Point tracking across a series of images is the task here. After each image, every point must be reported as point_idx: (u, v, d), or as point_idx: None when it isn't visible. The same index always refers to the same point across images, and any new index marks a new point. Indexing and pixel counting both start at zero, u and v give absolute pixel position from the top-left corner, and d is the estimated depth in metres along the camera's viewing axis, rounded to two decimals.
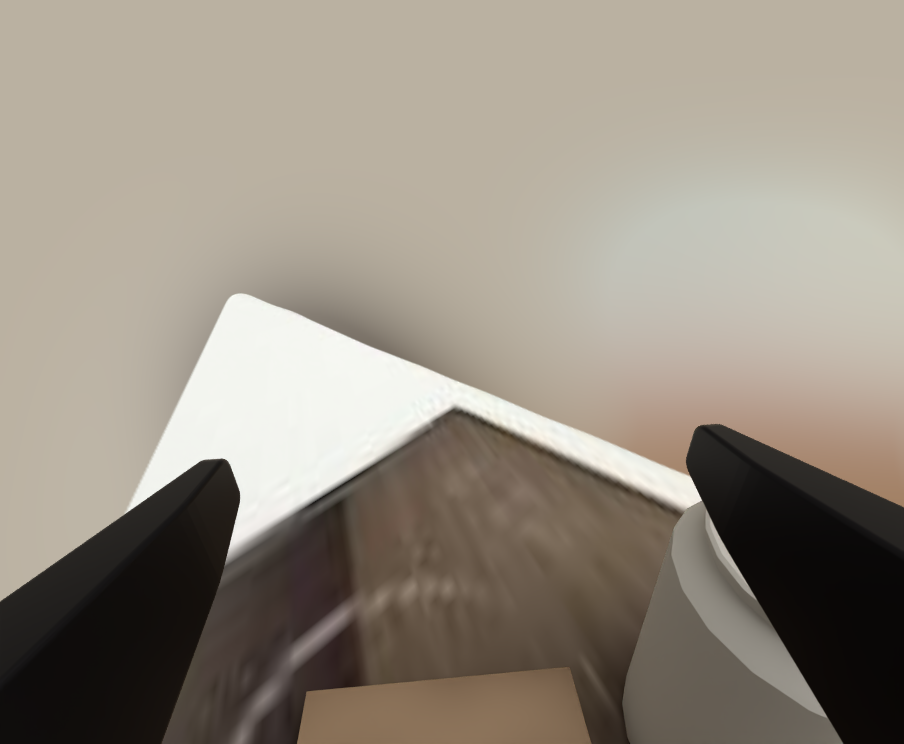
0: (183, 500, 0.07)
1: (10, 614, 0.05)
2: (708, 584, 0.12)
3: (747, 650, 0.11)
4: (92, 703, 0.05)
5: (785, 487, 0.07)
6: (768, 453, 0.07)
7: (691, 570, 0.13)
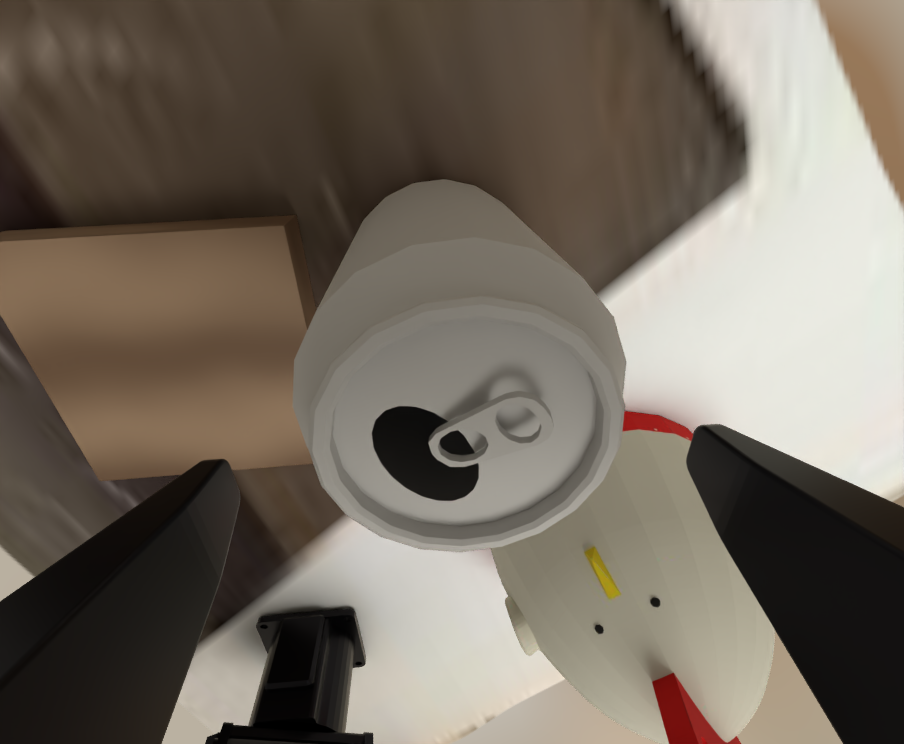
0: (183, 500, 0.07)
1: (10, 614, 0.05)
2: None
3: None
4: (92, 703, 0.05)
5: (785, 487, 0.07)
6: (769, 453, 0.07)
7: (303, 400, 0.09)
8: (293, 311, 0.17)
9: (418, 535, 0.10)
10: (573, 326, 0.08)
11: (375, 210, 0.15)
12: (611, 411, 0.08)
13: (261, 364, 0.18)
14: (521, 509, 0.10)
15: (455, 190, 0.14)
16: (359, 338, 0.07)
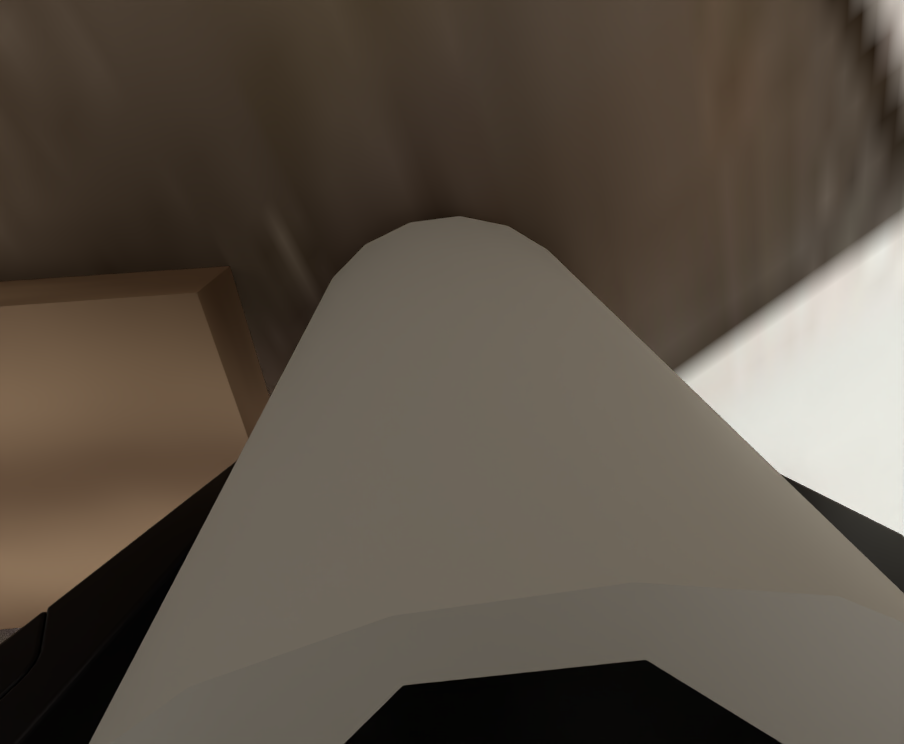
0: None
1: (74, 609, 0.05)
2: None
3: None
4: None
5: None
6: None
7: None
8: (225, 415, 0.11)
9: None
10: None
11: (347, 270, 0.09)
12: None
13: (185, 485, 0.12)
14: None
15: (483, 247, 0.08)
16: None
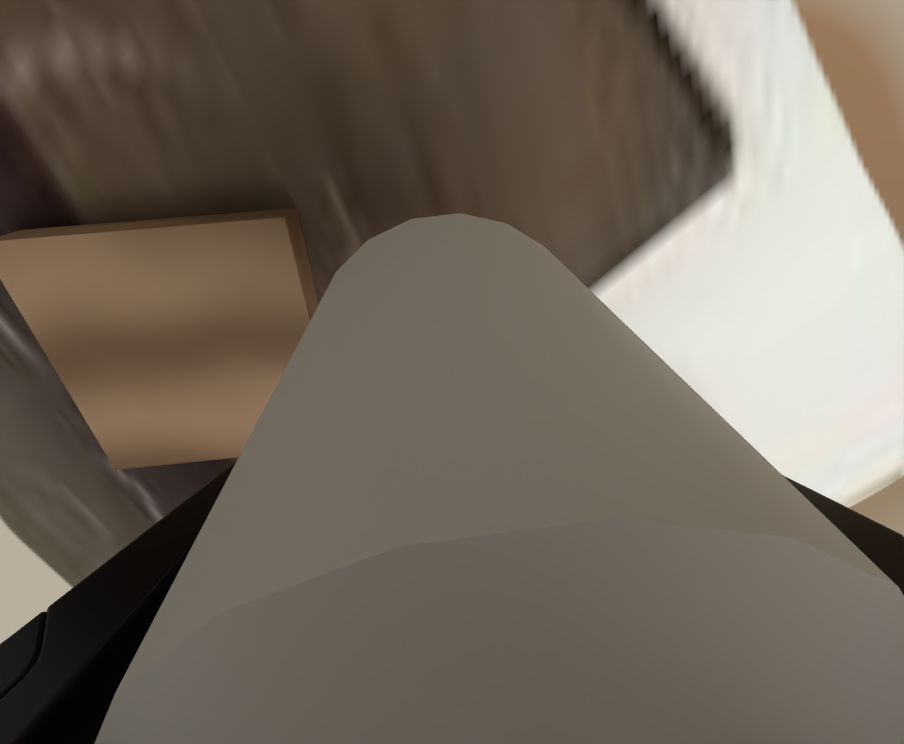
0: None
1: (75, 609, 0.05)
2: None
3: None
4: None
5: None
6: None
7: None
8: (295, 300, 0.18)
9: None
10: None
11: (351, 264, 0.10)
12: None
13: (266, 352, 0.19)
14: None
15: (482, 242, 0.08)
16: None
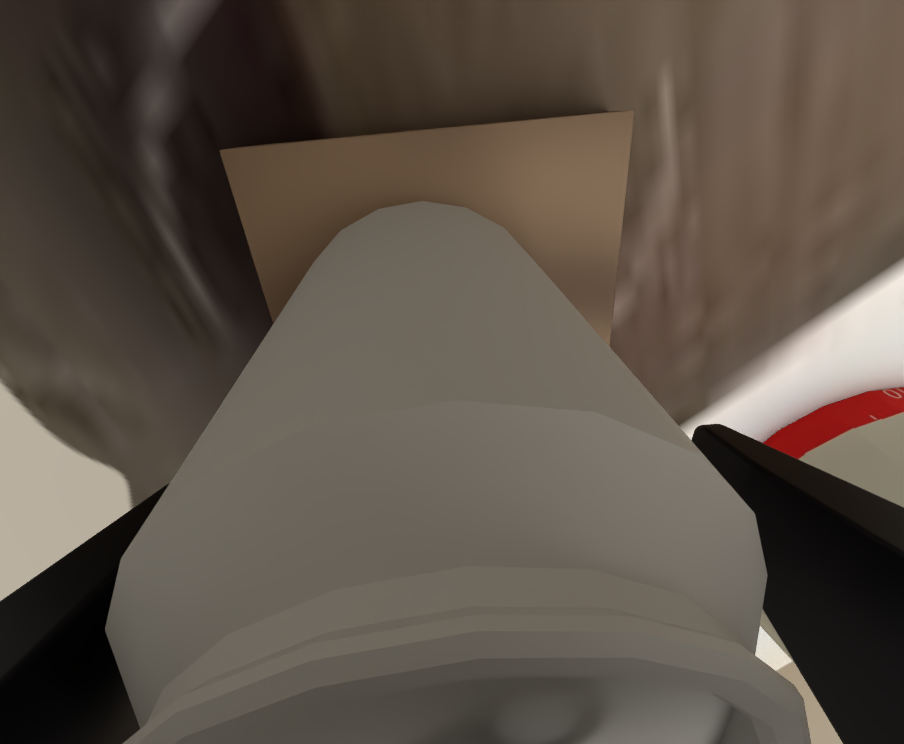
0: None
1: (10, 614, 0.05)
2: None
3: None
4: (92, 703, 0.05)
5: (785, 487, 0.07)
6: (769, 453, 0.07)
7: None
8: (609, 235, 0.13)
9: None
10: (722, 653, 0.03)
11: (323, 253, 0.11)
12: None
13: None
14: None
15: (434, 224, 0.09)
16: (155, 730, 0.03)
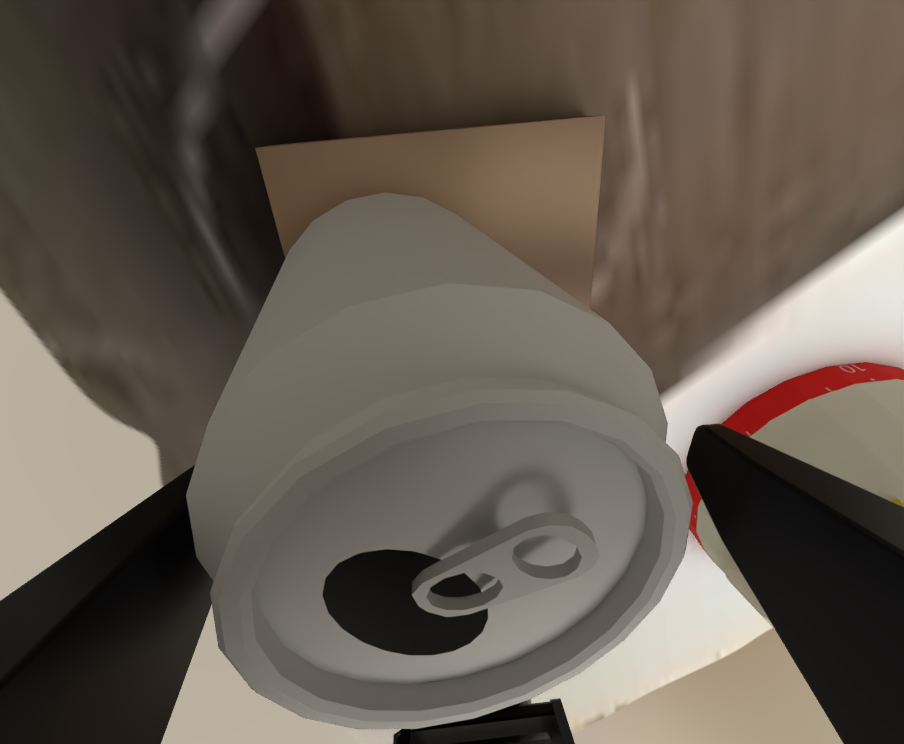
0: (182, 500, 0.07)
1: (9, 614, 0.05)
2: None
3: None
4: (91, 703, 0.05)
5: (786, 487, 0.07)
6: (769, 453, 0.07)
7: (209, 554, 0.06)
8: (586, 222, 0.15)
9: (410, 711, 0.07)
10: (622, 411, 0.05)
11: (301, 238, 0.12)
12: (676, 515, 0.06)
13: None
14: (547, 639, 0.07)
15: (401, 206, 0.11)
16: (277, 483, 0.04)
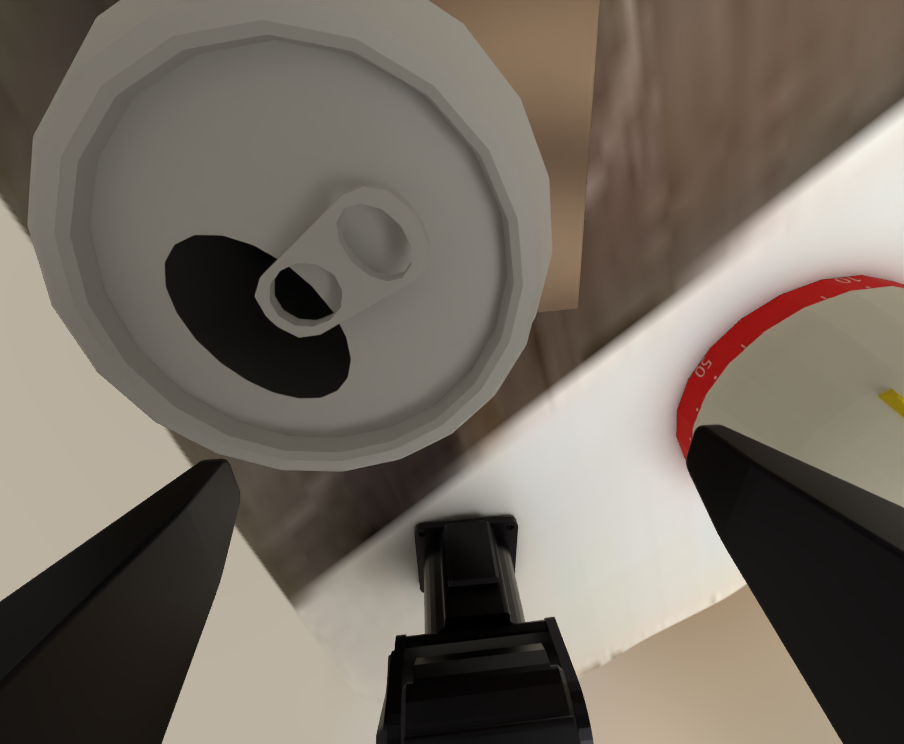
0: (183, 500, 0.07)
1: (10, 614, 0.05)
2: None
3: None
4: (92, 703, 0.05)
5: (785, 487, 0.07)
6: (769, 453, 0.07)
7: None
8: (582, 101, 0.15)
9: (275, 449, 0.07)
10: (431, 50, 0.05)
11: None
12: (518, 218, 0.06)
13: None
14: (423, 406, 0.07)
15: None
16: (65, 79, 0.04)
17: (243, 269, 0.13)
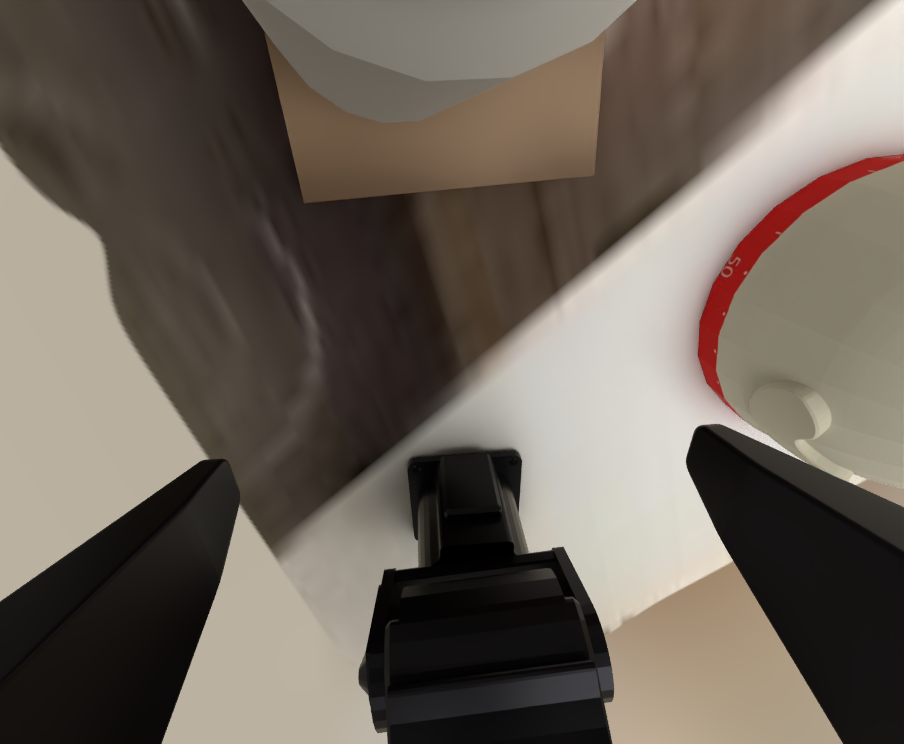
0: (183, 500, 0.07)
1: (10, 614, 0.05)
2: None
3: None
4: (92, 703, 0.05)
5: (785, 487, 0.07)
6: (769, 453, 0.07)
7: None
8: None
9: None
10: None
11: None
12: None
13: None
14: None
15: None
16: None
17: (280, 48, 0.10)
